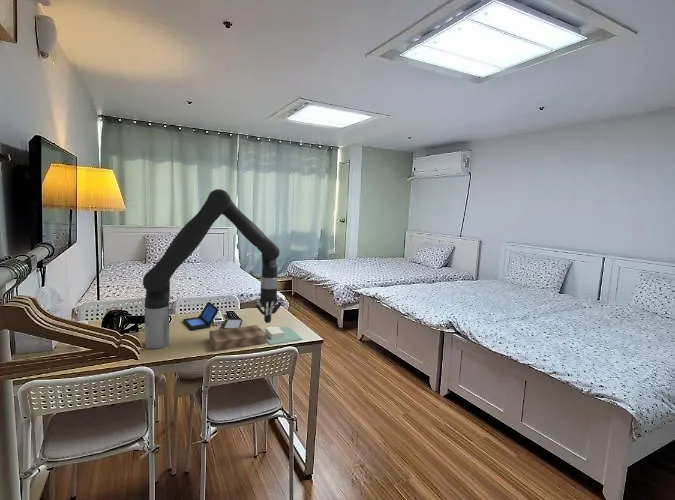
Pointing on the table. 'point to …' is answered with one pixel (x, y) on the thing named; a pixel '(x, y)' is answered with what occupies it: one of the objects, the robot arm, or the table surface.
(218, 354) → the table surface
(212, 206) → the robot arm
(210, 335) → the block
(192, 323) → the handheld game console
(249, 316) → the table surface
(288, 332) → the mat
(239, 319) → the gaming console
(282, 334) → the tile
